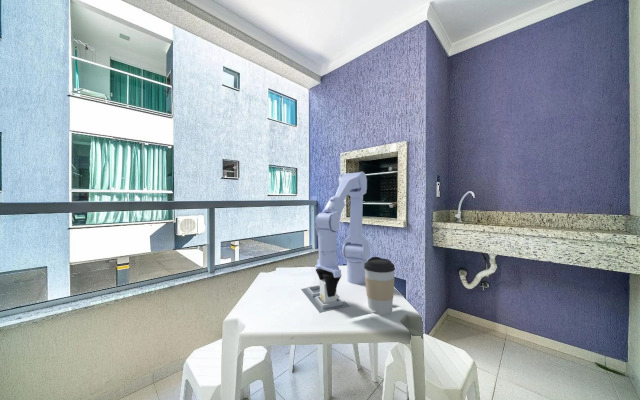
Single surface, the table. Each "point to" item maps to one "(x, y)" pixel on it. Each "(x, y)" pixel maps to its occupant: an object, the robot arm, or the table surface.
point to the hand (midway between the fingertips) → (328, 293)
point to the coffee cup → (379, 285)
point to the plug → (324, 294)
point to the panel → (314, 297)
